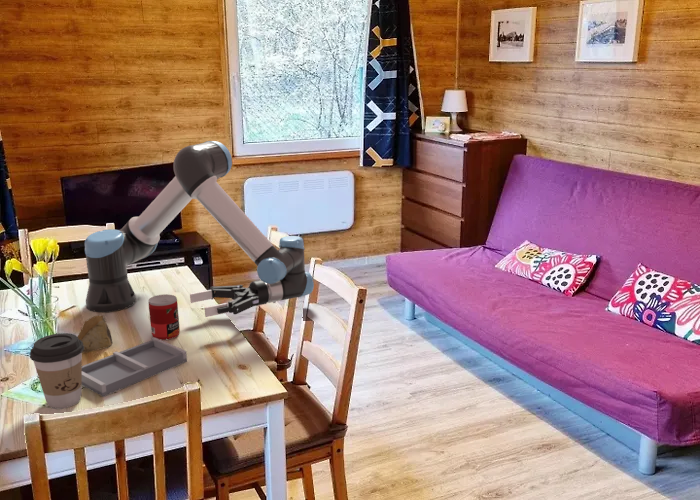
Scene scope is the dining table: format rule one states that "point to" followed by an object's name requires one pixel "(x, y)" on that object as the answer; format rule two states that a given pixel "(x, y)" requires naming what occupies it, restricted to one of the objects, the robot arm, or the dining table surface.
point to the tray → (131, 366)
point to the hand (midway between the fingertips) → (197, 305)
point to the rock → (95, 334)
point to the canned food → (164, 316)
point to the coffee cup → (59, 368)
